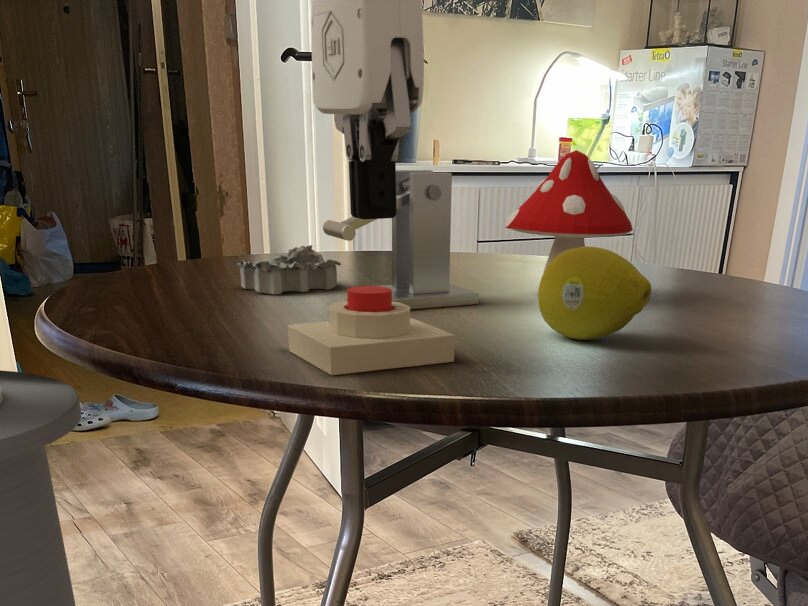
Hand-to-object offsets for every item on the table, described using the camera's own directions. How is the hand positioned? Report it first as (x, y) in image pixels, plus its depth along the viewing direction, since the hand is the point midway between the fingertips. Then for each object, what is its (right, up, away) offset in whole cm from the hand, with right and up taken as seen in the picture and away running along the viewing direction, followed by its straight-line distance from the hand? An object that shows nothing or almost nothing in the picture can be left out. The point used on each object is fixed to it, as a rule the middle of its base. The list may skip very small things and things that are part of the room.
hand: (373, 217), depth 71 cm
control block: (-1, -10, +5) cm, 11 cm away
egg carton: (-12, +6, +34) cm, 36 cm away
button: (-1, -6, +3) cm, 7 cm away
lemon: (+19, -6, +13) cm, 23 cm away
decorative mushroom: (+19, +5, +34) cm, 39 cm away
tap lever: (0, +9, +22) cm, 24 cm away
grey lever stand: (+3, +3, +28) cm, 28 cm away
